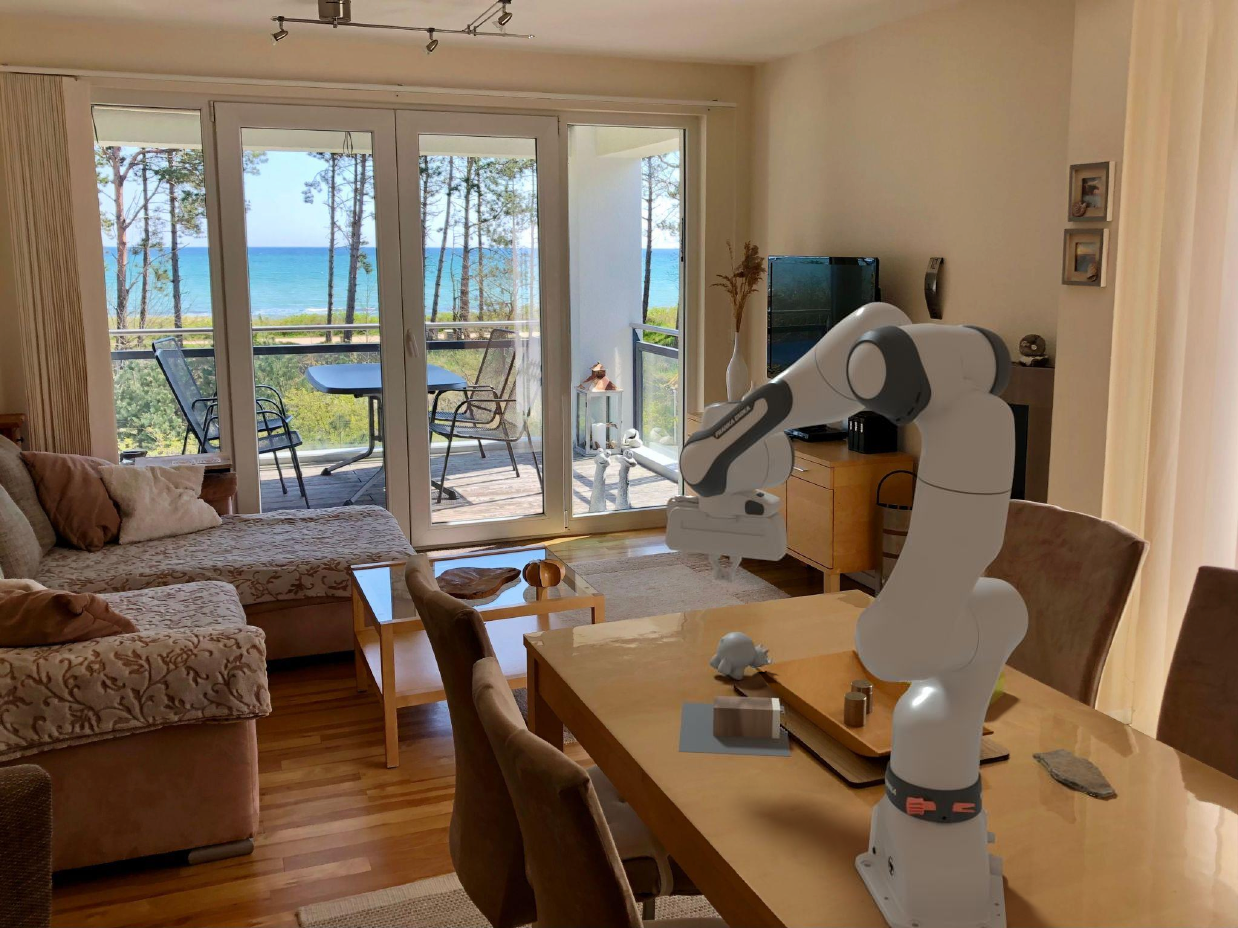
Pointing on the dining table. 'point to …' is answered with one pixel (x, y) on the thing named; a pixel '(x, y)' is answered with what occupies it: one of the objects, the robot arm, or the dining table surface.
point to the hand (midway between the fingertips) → (724, 580)
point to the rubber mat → (701, 740)
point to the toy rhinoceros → (738, 655)
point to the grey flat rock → (1075, 772)
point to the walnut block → (746, 717)
